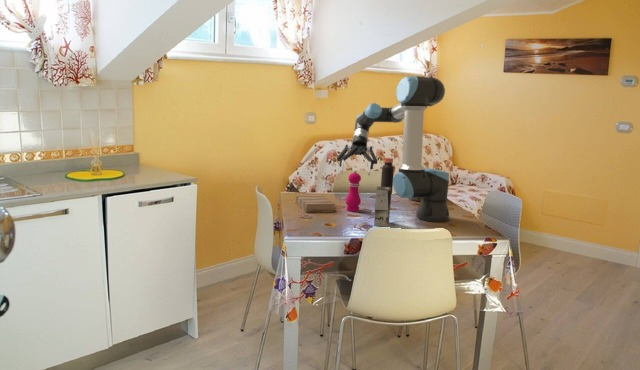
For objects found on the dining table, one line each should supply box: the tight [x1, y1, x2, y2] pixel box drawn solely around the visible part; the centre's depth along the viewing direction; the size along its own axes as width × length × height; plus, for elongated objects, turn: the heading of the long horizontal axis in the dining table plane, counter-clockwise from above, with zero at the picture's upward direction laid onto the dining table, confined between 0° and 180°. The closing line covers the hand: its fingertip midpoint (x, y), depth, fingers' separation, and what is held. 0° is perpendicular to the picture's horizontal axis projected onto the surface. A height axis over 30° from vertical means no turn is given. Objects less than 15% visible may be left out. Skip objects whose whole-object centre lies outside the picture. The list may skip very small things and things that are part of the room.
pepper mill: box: [345, 169, 362, 213], centre depth 253 cm, size 7×7×20 cm
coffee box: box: [373, 186, 392, 228], centre depth 230 cm, size 9×6×16 cm
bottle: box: [380, 157, 395, 194], centre depth 302 cm, size 7×7×20 cm
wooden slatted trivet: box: [295, 194, 336, 213], centre depth 257 cm, size 20×14×4 cm
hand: (355, 172), depth 259 cm, fingers open, 13 cm apart
